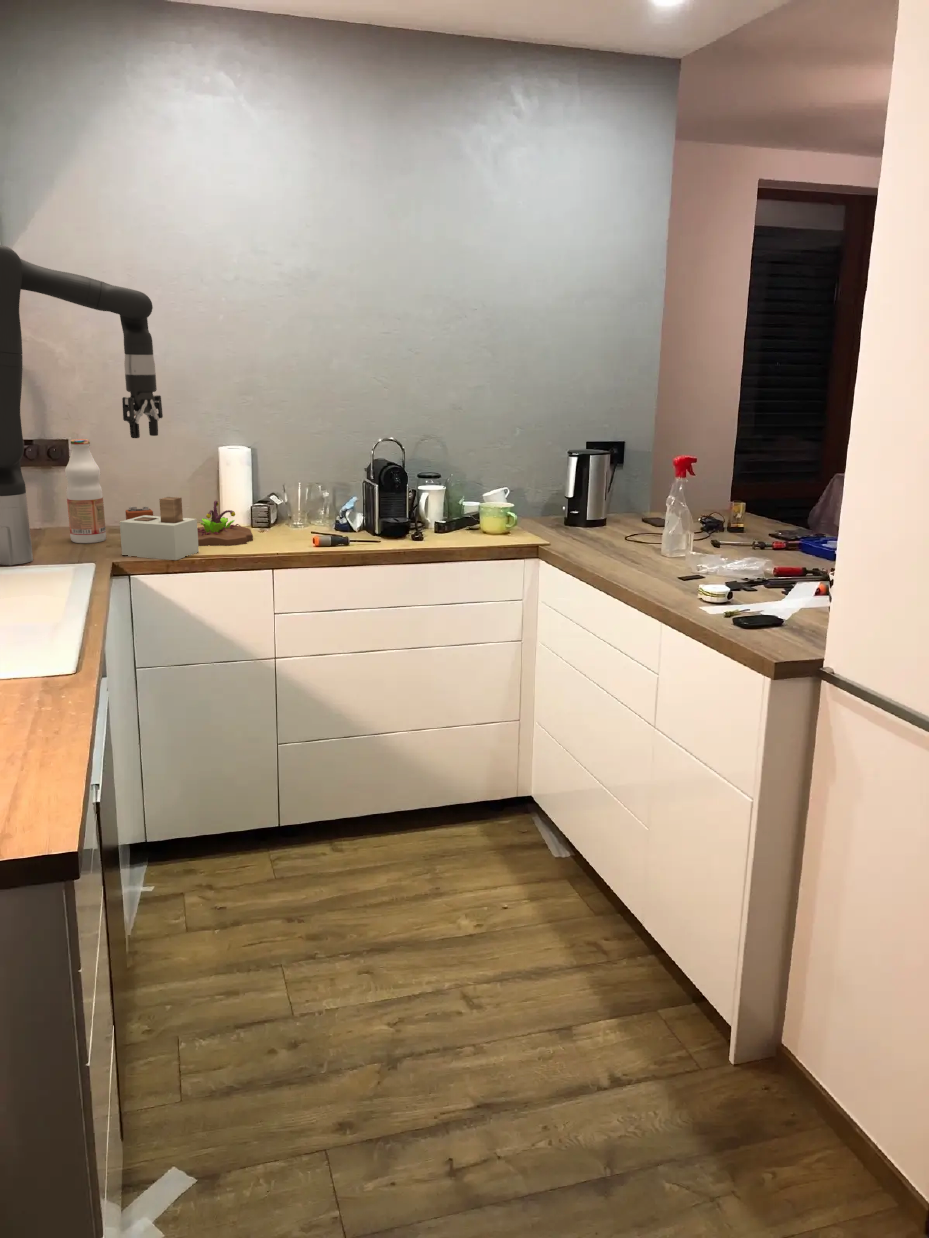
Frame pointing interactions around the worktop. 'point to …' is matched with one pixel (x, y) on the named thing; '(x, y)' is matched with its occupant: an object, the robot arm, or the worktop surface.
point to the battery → (138, 512)
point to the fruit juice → (84, 495)
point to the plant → (222, 530)
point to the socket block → (159, 538)
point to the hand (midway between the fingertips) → (144, 436)
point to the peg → (171, 510)
